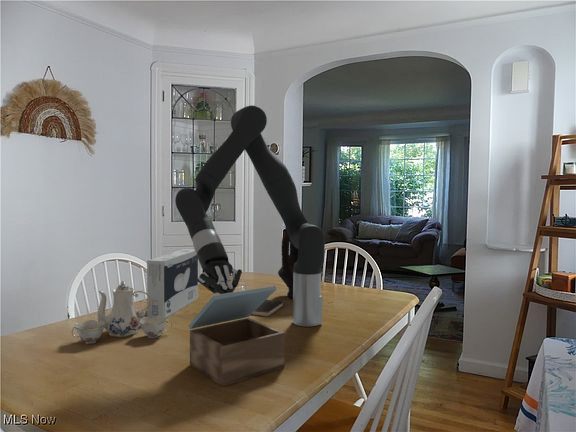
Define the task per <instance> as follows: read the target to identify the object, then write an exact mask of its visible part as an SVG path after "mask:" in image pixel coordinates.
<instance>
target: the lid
mask: <svg viewBox="0 0 576 432" xmlns="http://www.w3.org/2000/svg"><path fill="white" fill-rule="evenodd" d="M276 291H277V287H276V285H270V286H265V287H264V286H263V287H258V288H250V289H247V290H246V289H245V290H239V291H233V292H232V293H226V294H220V293H218V294H214V295H211V297H210V299H209V300H208V302H206V304H205V305H204V306H203V307H202V308H201V310H200V311H199V312H198V314H196V316H195V317H194V318H193V320H192V321H191V322H190V323H189V325H188V328H189V330H193V329H198V328H203V327H208V326H213V325H217V324H222V323H227V322H232V321H237V320H241V319H246V318H249V317H250V316H251V315H253V314H252V313H253V312H254V311H255V310H256V309H257V308H258V307H259V306H260V305H261V304H262V303H263V302H264V301H265V300H268V298H269V297H271V295H273V293H274V292H276Z"/></svg>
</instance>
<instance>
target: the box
mask: <svg viewBox="0 0 576 432" xmlns="http://www.w3.org/2000/svg"><path fill="white" fill-rule="evenodd" d="M285 333H286V332H284V331H282V330H279V329H276V328H275V327H271V326H269V325H268V324H264V323H262V322H259V321H257V320H254V319H252V318H249V317H246V318H241V319H236V320H231V321H227V322H222V323H217V324H212V325H207V326H202V327H197V328H193V329H189V365H190V367H192V368H193V369H195V370H197V371H198V372H200V373H202V374H203V375H205V376H206V377H207V378H209V379H210V380H211V381H212V382H215V383H216V384H217V385H219V386H220V387H227V386H230V385H233V384H235V383H236V384H237V383H239V382H240V383H241V382H242V381H243V382H244V381H247V380H249V379H253V378H256V377H259V376H262V375H265V374H268V373H272V372H275V371H278V370H282V369H284V368H285V345H286V344H285V341H286V340H285V339H286V334H285Z"/></svg>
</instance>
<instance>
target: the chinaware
mask: <svg viewBox="0 0 576 432" xmlns="http://www.w3.org/2000/svg"><path fill="white" fill-rule="evenodd" d="M134 290H135V289H134V287H129V285H128V284H126V282H125V280H122V281H121V282H120V284H119V285H117V287H116V288H114V289H111V292H112V296H113V304H112V308H111V312H110V313H109V314H107V313H106V310H107V309H106V306H107V300H108V299H107V295H106V292H104V291H102V290H99V291H98V293H99V294H100V296H101V297H100V299H101V300H100V302H99V305H98V309H97V315H96V316H97V317H96V318H97V320H94V319H89V320H86V321H84V322H83V323H82V322H77V323H75V324H74V327H72V329H71V334H72V336H73V337H75V338H80V340H81V341H84V342H83V343H84V344H86V345H89V344H95V343H96V342H97V340H98V339H99V338H100V337H101V336H102V334H103V332H104V329H105V330H106V331H107V332H108V335H109V337H117V338H124V337H129V336H132V335H135V334H137V333H138V332H139V331H138V329H139V328H141V330H142V332H143V334H145V335H147V338H148V339H156V338H160V336H159V335H160V334H161V335H164V332H169V331H170V330H171V329H172V327H173V322H172V321H171V320H169V318H168V317H165V318H163V317H162V316H158V315H157V316H153V317H151V318H150V317H147V316H145V315H146V310H147V308H148V307H149V305H150V303H151V298H150V296H149V294H148V293H147V291H144V290H135V291H134ZM139 293H141V294H145V295H146V296H148V298H149V303H148V305H147V304H146V306H145V307H143V308H142V309H139V310H137V311H136V308H135V305H134V301H133V297H135V298H137V297H139ZM168 322H169V323H170V327H169V329H165V327H166V324H167V323H168ZM74 329H75V330H76V333H77V335H75V333H74Z"/></svg>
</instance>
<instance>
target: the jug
mask: <svg viewBox="0 0 576 432" xmlns="http://www.w3.org/2000/svg"><path fill="white" fill-rule="evenodd" d="M297 260H298V249H297V248H296V247H295V246H294V245H293V244H292V242H291V239H290V237H289V234H288V232H287V229H286V227H285V230H284V232H283V236H282V239H281V267H280V269H279V270H278V272H277V275H278V276H279V278H280V279H281V280H282V282H283V283H284V284H285V285H286V287H287V288H288V292H287V297H288V298H291V299H293V274H294V264H295V263H296V262H297ZM322 277H323V272H322V270H321V278H322Z"/></svg>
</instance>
